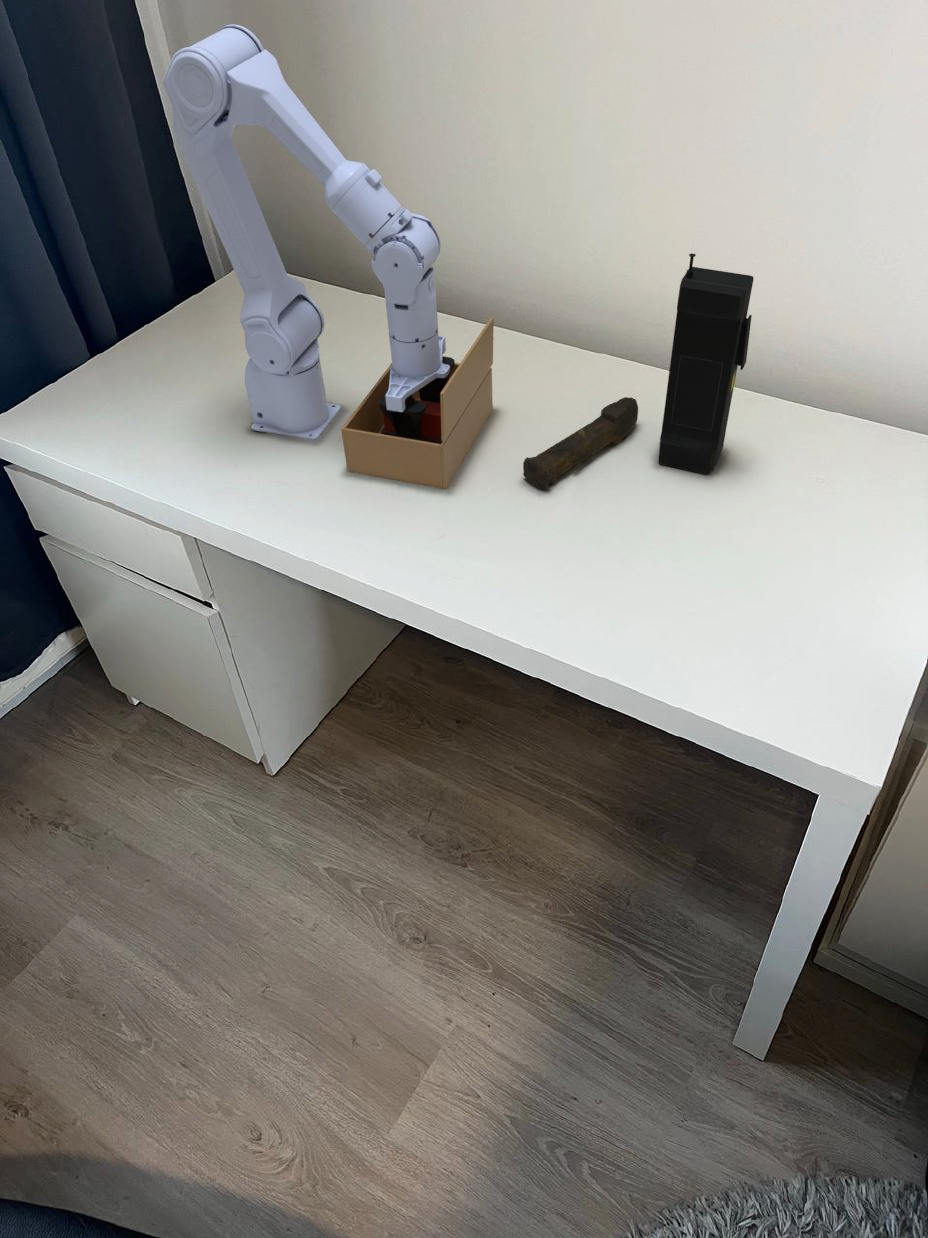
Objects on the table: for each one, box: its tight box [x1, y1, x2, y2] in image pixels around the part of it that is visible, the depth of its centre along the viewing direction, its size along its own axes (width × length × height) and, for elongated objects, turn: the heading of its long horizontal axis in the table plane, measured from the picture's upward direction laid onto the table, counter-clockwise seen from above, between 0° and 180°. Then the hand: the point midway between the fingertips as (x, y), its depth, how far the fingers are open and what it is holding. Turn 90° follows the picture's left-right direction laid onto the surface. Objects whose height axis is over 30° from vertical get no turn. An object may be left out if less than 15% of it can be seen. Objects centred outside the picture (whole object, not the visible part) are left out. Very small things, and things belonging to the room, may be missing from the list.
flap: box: [440, 316, 495, 442], centre depth 110 cm, size 18×6×1 cm
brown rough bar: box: [522, 396, 639, 491], centre depth 114 cm, size 19×4×5 cm, turn 131°
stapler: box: [381, 399, 443, 444], centre depth 117 cm, size 10×3×5 cm, turn 71°
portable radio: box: [658, 253, 754, 475], centre depth 105 cm, size 8×6×25 cm
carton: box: [340, 362, 494, 490], centre depth 117 cm, size 18×13×6 cm
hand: (422, 430), depth 118 cm, fingers open, 7 cm apart
